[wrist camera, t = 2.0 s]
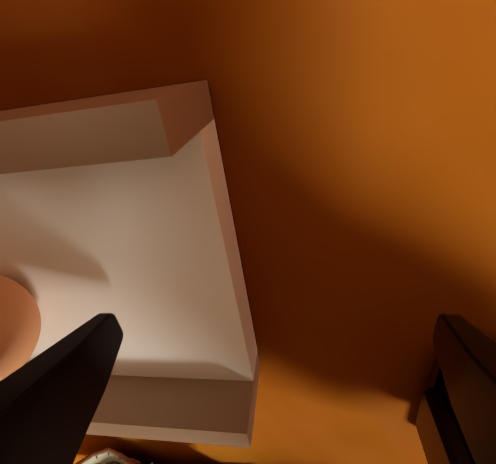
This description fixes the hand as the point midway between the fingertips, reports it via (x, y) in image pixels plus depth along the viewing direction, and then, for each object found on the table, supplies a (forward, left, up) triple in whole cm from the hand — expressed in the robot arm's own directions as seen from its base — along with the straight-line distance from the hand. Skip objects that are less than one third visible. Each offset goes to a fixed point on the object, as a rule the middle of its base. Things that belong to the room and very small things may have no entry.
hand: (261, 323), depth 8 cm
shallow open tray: (+11, 0, -3) cm, 11 cm away
